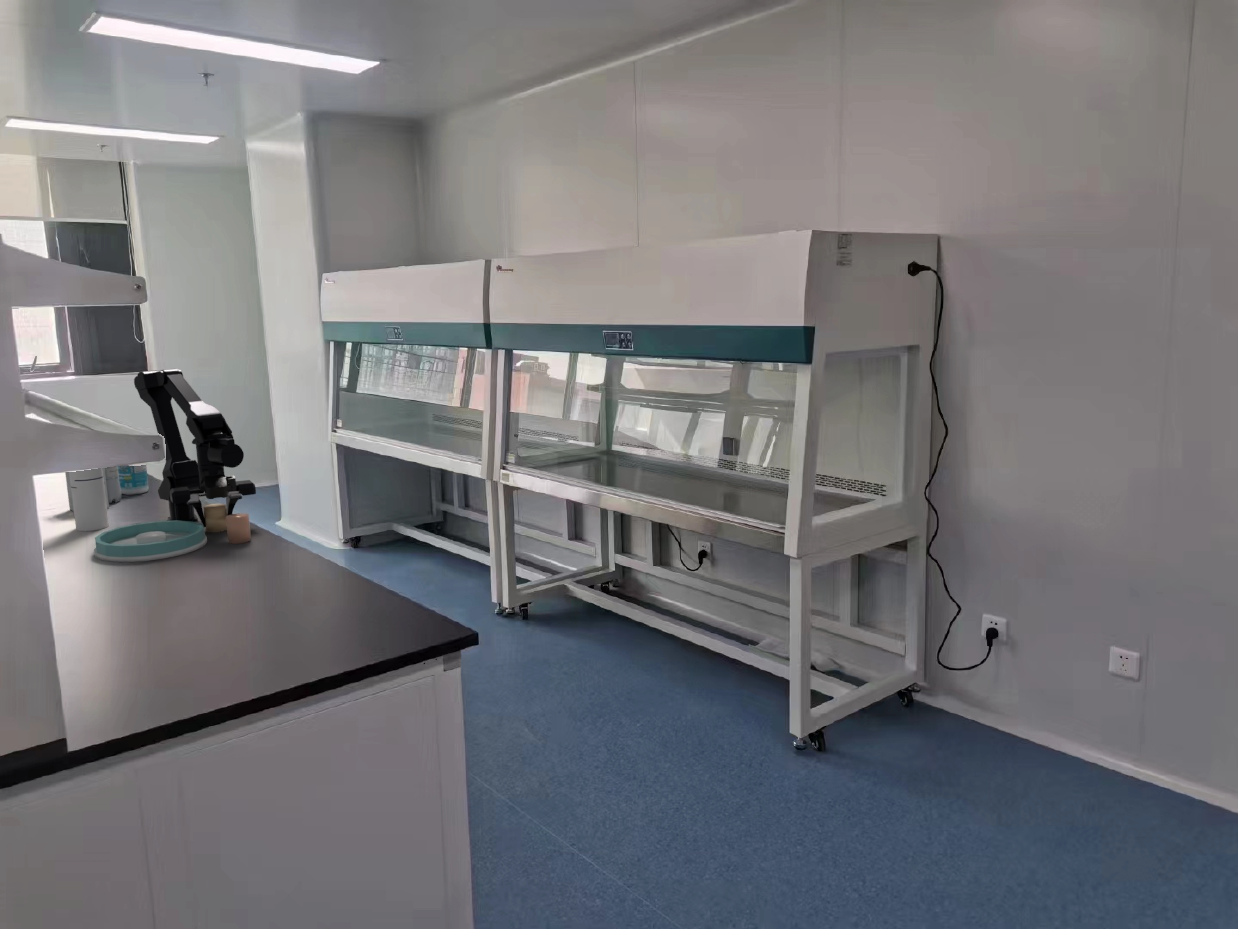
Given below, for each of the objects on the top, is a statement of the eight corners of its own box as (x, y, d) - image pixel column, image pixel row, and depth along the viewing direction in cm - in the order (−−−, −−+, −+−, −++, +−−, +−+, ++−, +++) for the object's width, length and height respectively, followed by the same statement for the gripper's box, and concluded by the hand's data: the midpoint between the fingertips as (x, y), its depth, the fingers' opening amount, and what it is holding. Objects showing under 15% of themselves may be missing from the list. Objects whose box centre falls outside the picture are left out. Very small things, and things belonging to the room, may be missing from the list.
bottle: (111, 505, 250) (102, 433, 246) (90, 504, 251) (81, 433, 247) (128, 499, 256) (120, 429, 253) (108, 498, 258) (99, 429, 254)
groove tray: (92, 543, 211) (91, 528, 210) (200, 529, 223) (198, 515, 222) (96, 568, 192) (94, 552, 191) (213, 551, 204) (212, 536, 203)
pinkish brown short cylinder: (226, 540, 213) (224, 515, 212) (249, 536, 216) (246, 512, 215) (229, 544, 209) (227, 519, 208) (252, 541, 212) (250, 516, 210)
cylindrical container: (98, 530, 222) (86, 430, 218) (69, 531, 223) (57, 430, 218) (114, 523, 229) (103, 426, 225) (87, 523, 230) (75, 426, 225)
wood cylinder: (204, 528, 223) (202, 505, 222) (226, 526, 226) (224, 502, 225) (207, 533, 219) (204, 509, 218) (229, 530, 222) (227, 506, 221)
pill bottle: (114, 493, 264) (109, 448, 262) (138, 488, 271) (133, 444, 268) (131, 496, 261) (126, 450, 258) (154, 491, 267) (149, 446, 265)
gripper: (171, 472, 208) (178, 538, 211) (257, 464, 217) (262, 527, 220) (166, 465, 217) (173, 528, 220) (249, 457, 227) (254, 517, 230)
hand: (216, 525), depth 222 cm, fingers closed on wood cylinder, 5 cm apart
